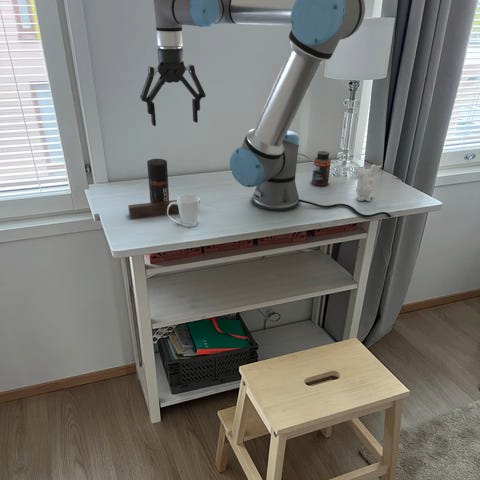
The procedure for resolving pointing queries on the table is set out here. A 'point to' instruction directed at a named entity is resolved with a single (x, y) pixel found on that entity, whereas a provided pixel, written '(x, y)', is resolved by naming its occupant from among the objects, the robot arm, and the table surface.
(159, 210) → the wooden block
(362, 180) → the koala figurine
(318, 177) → the supplement bottle
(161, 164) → the deodorant
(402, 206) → the table surface
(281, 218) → the table surface
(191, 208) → the cup
